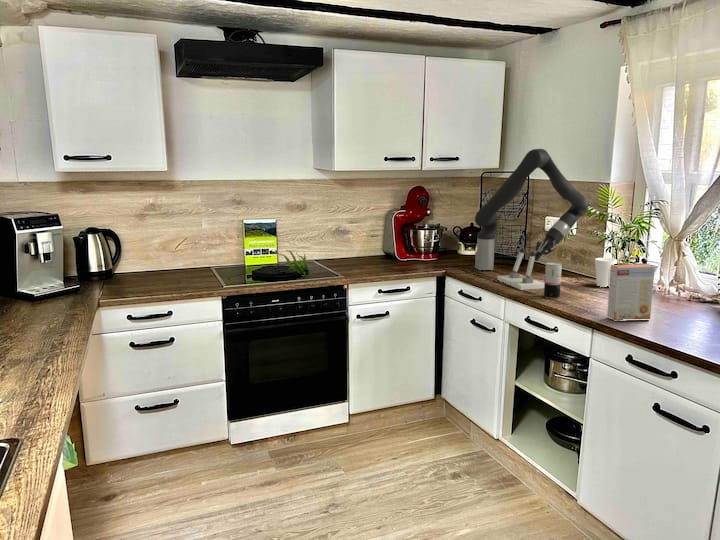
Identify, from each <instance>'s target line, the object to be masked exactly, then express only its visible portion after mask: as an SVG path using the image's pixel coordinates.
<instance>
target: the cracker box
mask: <svg viewBox="0 0 720 540" xmlns="http://www.w3.org/2000/svg"><path fill="white" fill-rule="evenodd" d="M654 276H655V266H653V265H650V264H647V263H641V264H640V263H639V264H638V263H636V264H632V263H631V264H628V263H627V264H617V265H611V268H610V282H609V288H608V301H607V310H606V311H607V313H606V317H607V316H608V317H610V318H612V319H613V320H623V319H650V320H651V314H652V304H653V303H652V301H653V292H654V291H653V289H654V279H655V277H654Z"/></svg>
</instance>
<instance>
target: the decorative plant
mask: <svg viewBox="0 0 720 540" xmlns="http://www.w3.org/2000/svg"><path fill="white" fill-rule="evenodd" d="M284 247H285V249H286V251H287V252H288V253H289V254H290V255H291V257H292V260H293V264H292V262H291V260H290V258H288V257H287V255H285V254H282V253H279V252H276V251H275V254H277V255H280V256H283V257H284V259H285V260H286V262H287V264H288V269H290V268H291V269H293V270H295V271H297V272H298V273H299V274H300V275H304V273H305V274H306V275H305V276H308V275H309V274H310V272H309V267H308V266H309V265H308V262H307V257H306V256H307V255H306V253H305V252H304V251H302V253H303V256H302V255H299V254H298V252H295V253H296V255H297V257H298V259H299V263H298V261H297V258H296V256H295V255H294V253H293V251H292V250H288V249H287V248H286V246H284ZM272 265H273V266H274V267H275V266H276V265H274V264H272ZM291 269H290V270H291Z"/></svg>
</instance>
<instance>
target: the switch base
mask: <svg viewBox="0 0 720 540" xmlns="http://www.w3.org/2000/svg"><path fill="white" fill-rule="evenodd" d="M525 276H526V275H523V274H520V273H518V272H517V273H514V272H509V274H508V275H497V278H496V279H497V281H498V280H499V282H501V283H503V282H504V283H503V284H505V283H506V285H508V286H510V285H511V286H510V287H513V288H515V289H518V290H519V291H524V290H537V289H538V290H539V289H544V286H545V282H542V281H539V280H537V279H534V278H532V277H530V278H527V277H525Z"/></svg>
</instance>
